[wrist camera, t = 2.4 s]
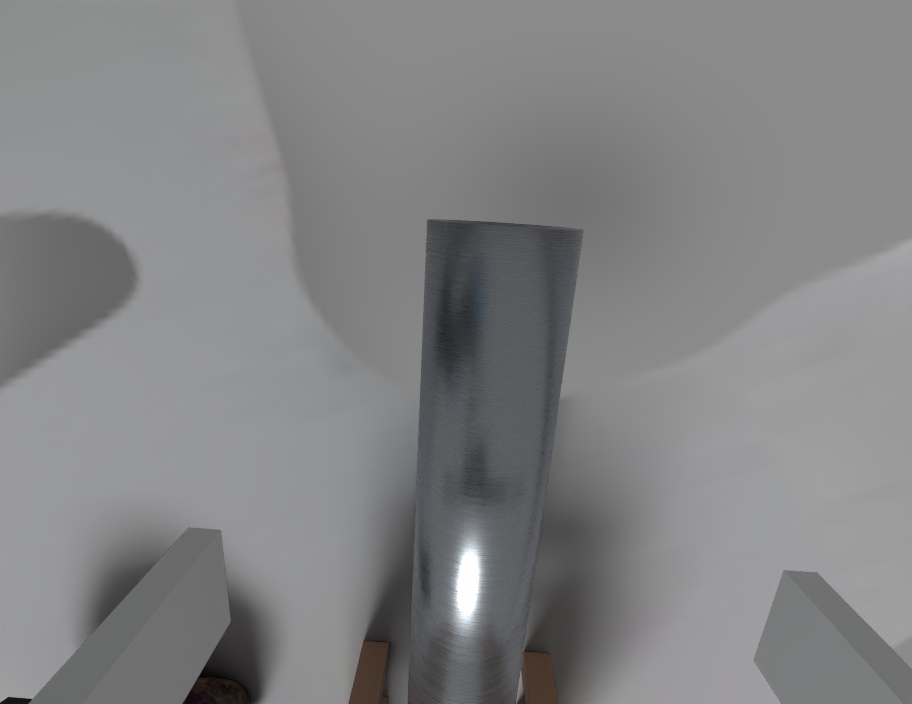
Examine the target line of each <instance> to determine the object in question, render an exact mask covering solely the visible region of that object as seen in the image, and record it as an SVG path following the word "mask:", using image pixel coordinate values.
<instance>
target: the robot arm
mask: <svg viewBox="0 0 912 704" xmlns="http://www.w3.org/2000/svg"><path fill="white" fill-rule="evenodd" d="M230 622H231V619H230V610H229V600H228V591H227V582H226V572H225V563H224V554H223V544H222V535H221V530H215V529H201V528H188V529H187V530H186V531H185V532H184V533H183V534H182V535H181V536H180V538H179V539H178V540H177V541H176V542H175V543H174V544H173V545H172V546H171V547H170V549H169V550H168V551H167V552H166V553H165V554H164V555H163V556H162V557H161V558H160V560H159V561H158V562H157V563H156V564H155V565H154V566H153V567H152V568H151V569H150V571H149V572H148V573H147V574H146V575H145V576H144V577H143V578H142V579H141V580H140V582H139V583H138V584H137V585H136V586H135V587H134V588H133V589H132V590H131V591H130V593H129V594H128V595H127V596H126V597H125V598H124V599H123V600H122V601H121V602H120V604H119V605H118V606H117V607H116V608H115V609H114V610H113V611H112V612H111V613H110V615H109V616H108V617H107V618H106V619H105V620H104V621H103V622H102V623H101V624H100V626H99V627H98V628H97V629H96V630H95V631H94V632H93V633H92V634H91V635H90V637H89V638H88V639H87V640H86V641H85V642H84V643H83V644H82V645H81V646H80V648H79V649H78V650H77V651H76V652H75V653H74V654H73V655H72V656H71V657H70V659H69V660H68V661H67V662H66V663H65V664H64V665H63V666H62V667H61V668H60V670H59V671H58V672H57V673H56V674H55V675H54V676H53V677H52V678H51V679H50V681H49V682H48V683H47V684H46V685H45V686H44V687H43V688H42V689H41V690H40V692H39V693H38V694H37V695H36V696H35V697H34V698H33V699H26V698H13V697H8V698H6V699H5V700H4V701H2V702H1V703H0V704H183V702H184V700H185V699H186V697H187V695H188V693H189V692H190V690H191V688H192V687H193V685H194V683H195V682H196V680H197V678H198V677H199V675H200V673H201V671H202V670H203V668H204V666H205V665H206V663H207V661H208V660H209V658H210V656H211V655H212V653H213V651H214V649H215V648H216V646H217V644H218V643H219V641H220V639H221V638H222V636H223V634H224V633H225V631H226V629H227V627H228V626H229V624H230ZM754 662H755V663H756V665H757V667H758V668H759V670H760V671H761V673H762V674H763V676H764V677H765V679H766V680H767V682H768V684H769V685H770V687H771V688H772V690H773V691H774V693H775V694H776V696H777V698H778V699H779V701H780V702H781V704H912V669H911V668H910V667H909V666H908V665H907V664H906V663H905V662H904V661H903V660H902V658H901V657H900V656H899V655H897V653H896V652H895V651H894V650H893V649H892V648H891V647H890V646H889V645H888V644H887V643H886V642H885V641H884V640H883V639H882V638H881V637H880V636H879V635H878V634H877V633H876V632H875V631H874V630H873V629H872V628H871V627H870V626H869V625H868V624H867V623H866V622H865V621H864V620H863V619H862V618H861V617H860V616H859V615H858V614H857V613H856V612H855V611H854V610H853V609H852V608H851V607H850V606H849V605H848V604H847V603H846V602H845V601H844V600H843V599H842V597H841V596H840V595H839V594H838V593H837V592H836V591H835V590H834V589H833V588H832V587H831V586H830V585H829V584H828V583H827V582H826V581H825V580H824V579H823V578H822V577H821V576H820V575H819V574H818V573H816V572H802V571H788V570H784V571H783V574H782V577H781V580H780V583H779V586H778V589H777V592H776V595H775V598H774V601H773V604H772V607H771V610H770V613H769V616H768V619H767V622H766V625H765V628H764V631H763V633H762V636H761V639H760V642H759V645H758V648H757V651H756V654H755V657H754Z"/></svg>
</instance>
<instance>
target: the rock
mask: <svg viewBox="0 0 912 704" xmlns="http://www.w3.org/2000/svg"><path fill="white" fill-rule="evenodd" d="M183 704H251V702H250V700H249V698H248V697H247V695H246V692H245V690H244V689H243V688H242V687H241V686H240V685H239V684H238V683H236V682H234V681H232V680H228V679H224V678H214V677H206V678H204V677H198V678H197V680H196V682H195V683H194V685H193V687H192V688H191V690H190V692H189V693H188V695H187V697H186V699H185V700H184V702H183Z"/></svg>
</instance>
